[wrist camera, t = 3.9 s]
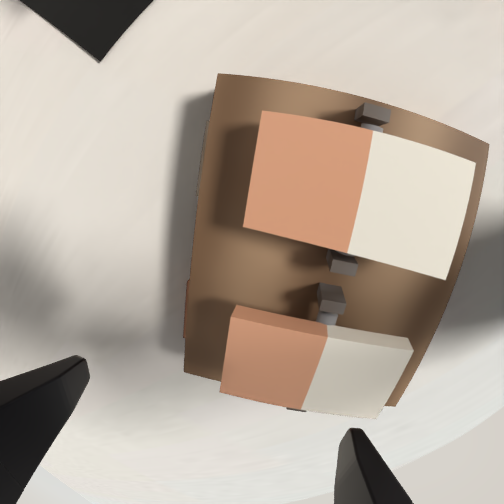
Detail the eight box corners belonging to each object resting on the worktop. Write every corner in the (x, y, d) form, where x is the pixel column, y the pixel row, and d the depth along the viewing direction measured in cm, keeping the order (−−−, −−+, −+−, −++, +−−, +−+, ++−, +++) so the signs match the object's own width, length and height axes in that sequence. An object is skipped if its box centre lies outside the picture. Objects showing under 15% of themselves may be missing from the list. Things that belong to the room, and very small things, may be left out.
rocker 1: (461, 155, 11) (477, 153, 9) (431, 272, 13) (442, 288, 11) (276, 110, 13) (263, 101, 11) (256, 226, 15) (241, 235, 13)
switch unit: (464, 144, 15) (509, 144, 10) (387, 380, 21) (400, 426, 16) (225, 85, 16) (200, 62, 11) (192, 346, 22) (169, 389, 17)
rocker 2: (406, 322, 14) (417, 344, 12) (369, 399, 16) (373, 423, 14) (241, 289, 15) (231, 308, 14) (227, 373, 17) (218, 396, 15)
